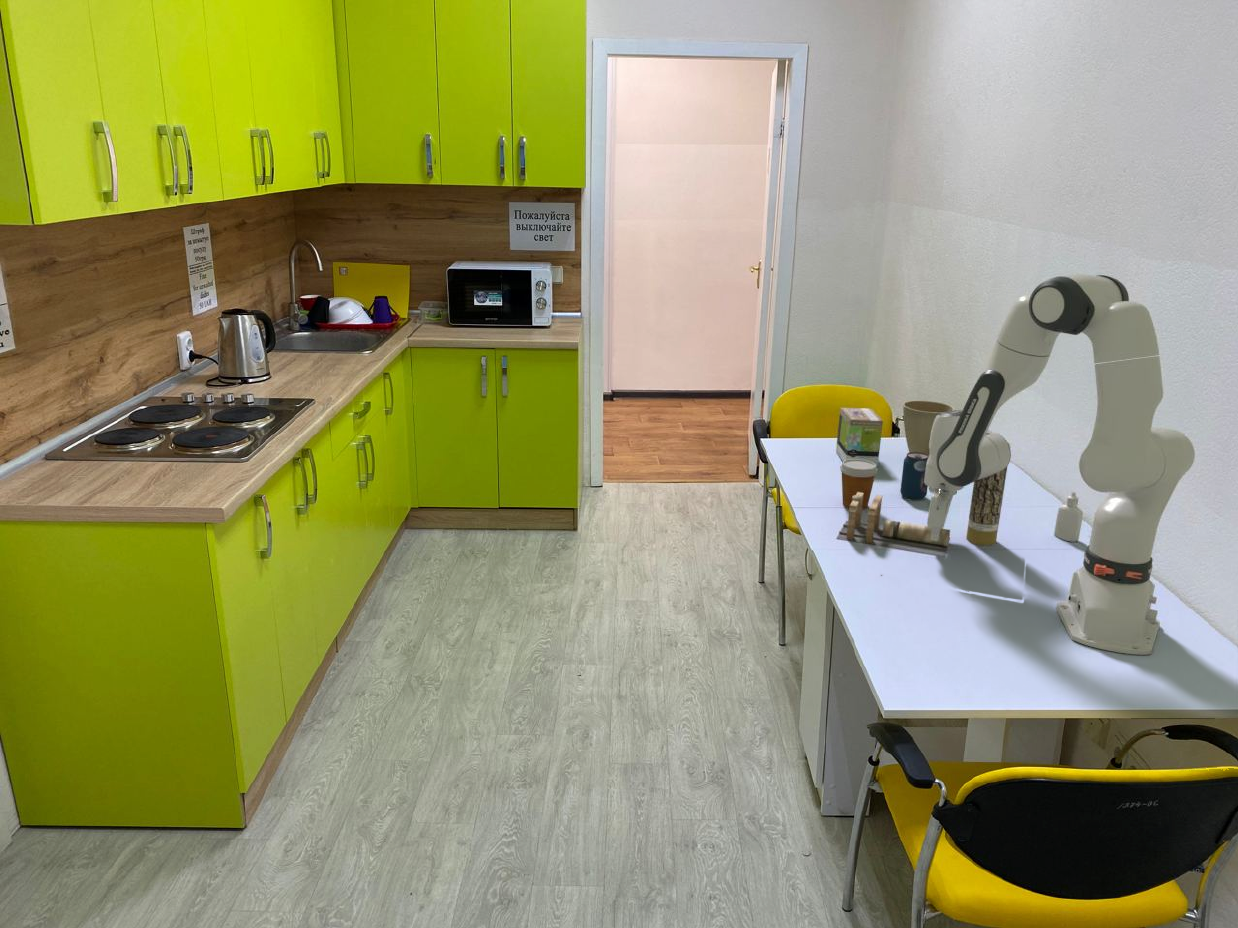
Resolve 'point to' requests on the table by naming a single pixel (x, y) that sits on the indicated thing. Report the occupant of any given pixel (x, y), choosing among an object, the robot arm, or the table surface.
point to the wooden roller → (914, 532)
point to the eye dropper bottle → (1069, 520)
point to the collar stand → (879, 530)
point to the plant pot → (921, 423)
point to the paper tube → (986, 509)
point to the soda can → (914, 476)
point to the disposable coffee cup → (857, 480)
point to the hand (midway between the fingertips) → (936, 532)
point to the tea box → (859, 434)
